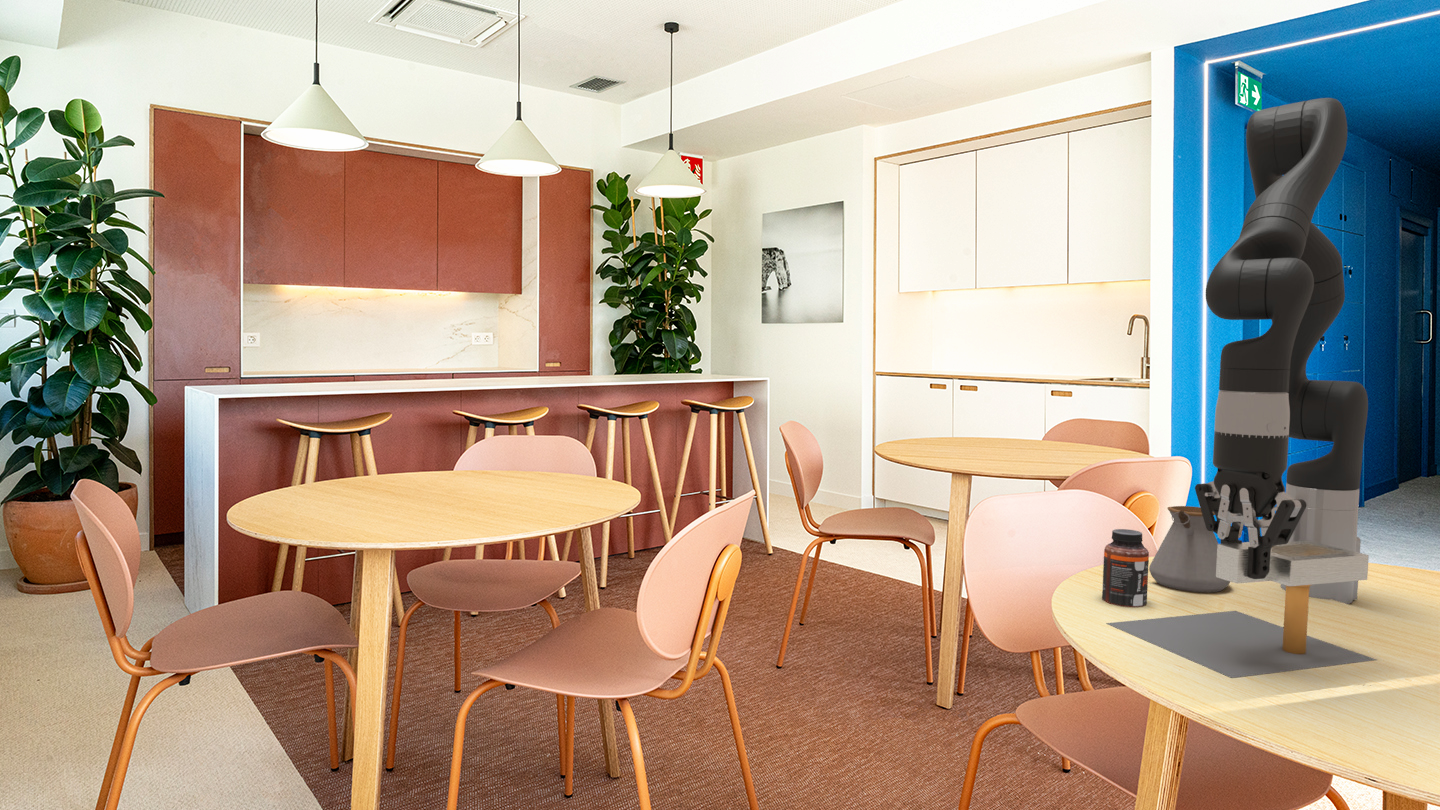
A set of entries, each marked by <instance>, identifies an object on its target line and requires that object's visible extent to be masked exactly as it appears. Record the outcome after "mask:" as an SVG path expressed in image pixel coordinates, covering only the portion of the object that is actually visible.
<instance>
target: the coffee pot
mask: <svg viewBox="0 0 1440 810" xmlns="http://www.w3.org/2000/svg"><path fill="white" fill-rule="evenodd" d="M1167 510H1168V511H1169V513H1170V515H1171V519H1172V523H1171V525H1170V526H1169V528H1168V529H1169V530H1167V533H1166V534H1165V537H1164V539H1163V540H1162V542H1161V544H1160V546H1159V547H1158V550H1157V551H1156V553H1155V554H1154V557H1153V559H1152V561H1151V562H1150V563H1149V566H1148V572H1149V573H1150V576H1151V577H1152V578H1153V580H1154V581H1155V582H1156V583H1157V584H1159V585H1161V586H1163V587H1167V588H1170V589H1174V590H1179V591H1183V592H1191V593H1203V594H1204V593H1219V592H1222V591H1223V590H1224V589H1226V588H1227V587H1228V586H1229V585H1230V584H1231V582H1230V581H1227V580H1224V579H1221V578H1217V577H1216V564H1217V544H1219V542H1218V539H1217V537H1216V535H1215V534H1216V533H1215V532H1214V531H1208V530H1207V528H1206V525H1205V522H1204V519H1203V515H1202V512H1201V508H1200V506H1192V505H1191V506H1189V505H1187V506H1186V505H1176V506H1175V505H1173V506H1168V507H1167ZM1213 515H1214V516H1215V513H1214V512H1213Z"/></svg>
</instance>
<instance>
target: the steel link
mask: <svg viewBox="0 0 1440 810" xmlns="http://www.w3.org/2000/svg"><path fill="white" fill-rule="evenodd" d="M1248 547H1251V545H1250V543H1249V541H1246V542H1245V541H1244V542H1243V541H1242V543H1229V544H1221V543H1218V544H1217V564H1216V577H1217V578H1221V579H1224V580H1227V581H1230V583H1234V584H1248V583H1250V584H1251V583H1260V582H1273V583H1276V584H1280V585H1281V584H1283V585H1286V586H1301V585H1312V584H1324V583H1336V582H1348V581H1358V582H1359V581H1367V580H1368V572H1369V561H1370V560H1369V554H1366V553H1361V552H1360V553H1358V552H1353V551H1349V550H1345V549H1341V548H1336V547H1332V546H1328V545H1323V544H1319V543H1315V542H1311V541H1293V542H1288V543H1287V544H1284V545H1276V546H1273V547H1272V548H1271V552H1270V571H1269V573H1268V575H1266V577H1265V578H1264V579H1252V578H1249V577H1248V576H1247V570H1248V552H1249V549H1248Z"/></svg>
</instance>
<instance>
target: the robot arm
mask: <svg viewBox="0 0 1440 810" xmlns="http://www.w3.org/2000/svg"><path fill="white" fill-rule="evenodd" d="M1245 138H1246V139H1245V142H1246V151H1247V159H1248V164H1249V170H1250V174H1251V180H1252V185H1253V190H1254V195H1255V200H1254V201H1253V203H1251V205H1250V207H1249V208H1248V210H1247V213H1246V215H1245V216H1244V217H1245V218H1244V221H1243V224H1242V228H1241V231H1240V233H1239V234H1240V235H1239V237H1238V239H1237V240H1235V242H1234V243H1233V244H1232V246H1231V247H1230V248H1229V249H1228V250H1227V251H1226V252H1225V254H1224V255H1223V256H1222V257H1221V258H1219V261H1218V262H1217V263H1216V264H1215V265H1214V267H1213V269H1212V270H1211V272H1210V274H1209V277H1208V279H1207V282H1206V288H1205V302H1206V305H1207V307H1208V308H1209V310H1210V312H1212V313H1213V314H1214V315H1215V316H1216V317H1218V318H1220V319H1223V320H1228V321H1229V320H1231V321H1240V320H1241V321H1242V320H1245V321H1255V320H1258V321H1259V320H1265V321H1267V320H1271V325H1270V327H1269V329H1268V330H1267V331H1265V333H1263V334H1262V335H1259V336H1257V337H1252V338H1247V339H1246V338H1245V339H1240V340H1236V341H1235V340H1234V341H1231V342H1229V343H1227V344H1225V345H1224V346H1223V347H1222V349H1221V353H1220V363H1219V364H1220V365H1219V379H1218V382H1219V383H1218V384H1219V385H1218V396H1217V400H1216V405H1215V413H1214V415H1215V416H1214V432H1213V433H1214V434H1213V450H1212V451H1213V452H1212V453H1213V455H1212V465H1213V467H1215V468H1217V471H1216V474H1215V475H1214V478H1213V481H1209V482H1207V483H1203V482H1202V483H1197V484H1195V485H1194V491H1195V494H1196V498H1197V501H1198V504H1199V505H1198V506H1199V507H1200V508H1201V512H1202V515H1203V519H1204V522H1205V525H1206V528H1207V530H1208V531H1213V532H1214V534H1216V535H1217V537H1218V538H1219V539H1220V544H1229V543H1242V542H1243V540H1240V538H1241V537H1242V534H1243V528H1244V526H1245V527H1246V528H1247V532H1248V542H1249V543H1250V545H1251V547H1248V549H1249V552H1248V570H1247V576H1248V577H1249V578H1252V579H1264V578H1265V577H1266V575H1268V573H1269V571H1270V552H1271V548H1272V547H1273V546H1276V545H1284V544H1287V543H1288V542H1293V541H1311V542H1315V543H1319V544H1323V545H1328V546H1332V547H1336V548H1341V549H1345V550H1349V551H1353V552H1358V553H1361V543H1362V542H1361V538H1360V537H1359V536H1357V535H1358V521H1359V503H1360V485H1361V475H1362V467H1363V466H1362V465H1363V464H1362V463H1363V453H1364V443H1365V434H1366V428H1367V427H1366V426H1367V421H1368V411H1369V399H1368V397H1369V396H1368V393H1367V390H1366V388H1365V387H1364V386H1363V384H1362V383H1360V382H1358V381H1350V380H1348V381H1347V380H1323V379H1321V380H1318V379H1309V378H1308V377H1307V370H1306V369H1307V363H1308V360H1309V359H1310V356H1311V354H1312V352H1313V350H1314V348H1315V347H1316V346H1317V344H1318V342H1319V341H1320V340H1321V338H1323V336H1324V335H1325V334H1326V332H1327V331H1328V329H1329V328H1330V327H1331V325H1333V323H1334V321H1335V319H1337V317H1338V315H1339V314H1340V312H1341V310H1342V308H1343V306H1344V302H1345V299H1346V293H1345V280H1344V279H1345V278H1344V269H1343V260H1342V256H1341V254H1340V252H1339V250H1338V249H1337V248H1336V245H1334V243H1333V242H1332V241H1331V240H1330V239H1329V237H1327V236H1326V235H1325V233H1323V232H1322V231H1321V229H1319V228H1318V226H1317V225H1315V224H1314V223H1313V222H1312V219H1313V217H1314V214H1315V211H1316V209H1317V206H1318V205H1319V203H1320V201H1321V199H1322V197H1323V195H1325V192H1326V190H1327V189H1328V187H1329V186H1330V183H1331V182H1332V180H1333V177H1334V175H1335V174H1336V172H1337V171H1338V168H1339V166H1340V164H1341V162H1342V160H1343V157H1344V154H1345V151H1346V147H1347V141H1348V120H1347V116H1346V111H1345V109H1344V105H1342V102H1341V101H1339V100H1338V99H1336V98H1333V97H1319V98H1314V99H1309V100H1302V101H1299V102H1292V103H1288V104H1283V105H1282V104H1281V105H1280V106H1272V107H1268V108H1264V109H1259V110H1257V111H1256V112H1254V113H1252V114H1251V115H1250V116H1249V119H1248V122H1247V125H1246V133H1245ZM1289 438H1291V439H1296V440H1302V441H1304V440H1305V441H1306V440H1307V441H1317V442H1329V443H1330V442H1332V443H1333V445H1332V448H1331V450H1330V451H1329V453H1327V454H1325V455H1323V456H1321V457H1318V458H1316V459H1310V460H1304V461H1299V462H1296V463H1292V464H1290V465H1289V466H1288V456H1289V455H1288V453H1289V440H1290V439H1289ZM1286 470H1287V471H1286ZM1285 471H1286V483H1285V485H1286V486H1285V485H1284V481H1283V474H1284V473H1285ZM1213 512H1214V513H1215V515H1213ZM1257 518H1261V519H1257ZM1280 588H1281V589H1282V590H1284V591H1286V585H1283V584H1280ZM1358 590H1359V581H1348V582H1336V583H1324V584H1312V585H1311V586H1310V588H1309V598H1313V599H1314V598H1315V599H1321V600H1332V601H1335V602H1339V603H1343V604H1346V605H1350V604H1351V603H1353V601H1354V600H1355V601H1356V600H1358Z"/></svg>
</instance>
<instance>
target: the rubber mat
mask: <svg viewBox="0 0 1440 810" xmlns="http://www.w3.org/2000/svg"><path fill="white" fill-rule="evenodd" d="M1105 624H1106V625H1107V626H1108V625H1109V626H1110V627H1113V628H1115V629H1117V630H1120V631H1122V632H1124V633H1126V634H1129V635H1131V636H1134V637H1135V638H1138V639H1140V640H1143V641H1145V642H1147V643H1149V644H1152V645H1154V646H1157V647H1159V648H1161V649H1163V650H1166V651H1168V652H1171V653H1172V654H1175V655H1177V656H1179V657H1182V658H1184V659H1187V660H1189V661H1191V662H1194V663H1196V664H1198V665H1200V666H1201V667H1205V668H1207V669H1209V670H1212V671H1214V672H1216V673H1218V674H1220V675H1223V676H1226V677H1228V678H1230V679H1237V678H1244V677H1245V678H1246V677H1253V676H1261V675H1269V674H1275V673H1285V672H1292V671H1301V670H1308V669H1316V668H1326V667H1332V666H1340V665H1348V664H1357V663H1364V662H1372V661H1373V662H1374V661H1378V659H1377V658H1374V657H1370V656H1367V655H1365V654H1362V653H1359V652H1356V651H1354V650H1350V649H1348V648H1344V647H1342V646H1339V645H1337V644H1333V643H1329V642H1327V641H1324V640H1322V639H1319V638H1315V637H1313V636H1310V635H1307V640H1306V653H1305V654H1293V653H1289V652H1286V651H1284V650H1283V649H1282V647H1283V630H1284V626H1281V625H1277V624H1275V623H1272V622H1269V621H1267V620H1264V619H1260V618H1259V617H1255V616H1252V615H1249V614H1246V613H1244V612H1240V611H1237V610H1229V611H1221V612H1220V611H1219V612H1209V613H1208V612H1207V613H1199V614H1187V615H1177V616H1169V617H1158V618H1156V617H1155V618H1146V619H1145V618H1144V619H1135V620H1127V621H1126V620H1125V621H1116V622H1106V623H1105Z"/></svg>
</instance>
